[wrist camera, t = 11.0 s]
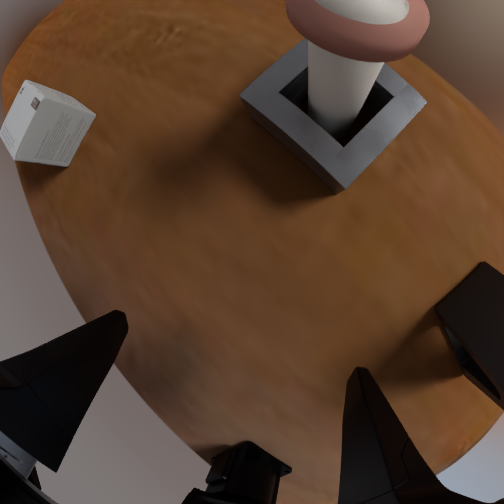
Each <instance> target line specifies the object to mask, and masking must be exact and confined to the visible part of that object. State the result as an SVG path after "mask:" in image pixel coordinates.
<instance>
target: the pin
mask: <svg viewBox="0 0 504 504" xmlns="http://www.w3.org/2000/svg"><path fill="white" fill-rule="evenodd" d="M285 5H286V12H287V15H288V18H289V20H290V22H291V23H292V25H293V26H294V28H295V29H296V30H297V31H298V32H299V33H300V34H301V35H302V36H304V37H305V38H306V39H307V40H308V116H309V117H310V118H311V119H312V120H313V121H315V122H316V123H317V124H318V125H319V126H320V127H322V128H323V129H324V130H325V131H326V132H327V133H328V134H329V135H331V136H332V137H333V138H334V139H339V138H341V137H343V136H345V135H346V134H347V133H348V132H349V130H350V128H351V127H352V125H353V123H354V121H355V119H356V117H357V115H358V113H359V111H360V109H361V107H362V106H363V104H364V102H365V100H366V98H367V96H368V94H369V92H370V90H371V88H372V86H373V84H374V82H375V80H376V78H377V76H378V74H379V72H380V70H381V68H382V66H383V64H384V62H391V61H396V60H399V59H402V58H404V57H406V56H407V55H409V54H410V53H411V52H412V51H413V50H414V49H415V47H416V46H417V44H418V43H419V41H420V39H421V38H422V36H423V35H424V33H425V31H426V30H427V28H428V26H429V21H430V17H429V11H428V8H427V6H426V4H425V2H424V0H285Z"/></svg>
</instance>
